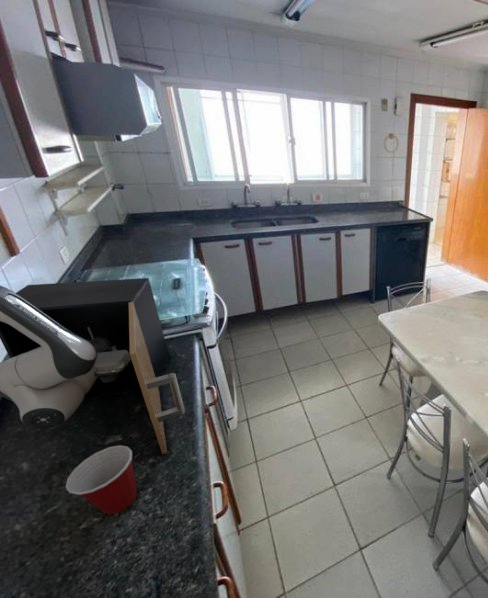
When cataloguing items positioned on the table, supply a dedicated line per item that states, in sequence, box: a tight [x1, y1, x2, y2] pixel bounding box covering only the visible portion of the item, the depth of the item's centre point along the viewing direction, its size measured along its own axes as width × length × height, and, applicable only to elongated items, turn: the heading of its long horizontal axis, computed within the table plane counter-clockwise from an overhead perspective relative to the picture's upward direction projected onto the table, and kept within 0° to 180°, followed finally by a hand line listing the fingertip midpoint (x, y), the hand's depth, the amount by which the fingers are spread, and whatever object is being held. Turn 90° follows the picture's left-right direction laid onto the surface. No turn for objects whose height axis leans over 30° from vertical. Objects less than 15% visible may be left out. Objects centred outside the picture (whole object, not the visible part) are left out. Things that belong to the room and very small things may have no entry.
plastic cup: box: [65, 445, 138, 515], centre depth 70 cm, size 11×11×12 cm
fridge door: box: [129, 302, 186, 455], centre depth 90 cm, size 7×30×31 cm, turn 37°
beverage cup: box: [87, 327, 119, 383], centre depth 103 cm, size 7×7×20 cm
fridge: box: [0, 277, 170, 402], centre depth 101 cm, size 18×30×32 cm, turn 112°
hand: (95, 350), depth 100 cm, fingers open, 8 cm apart
